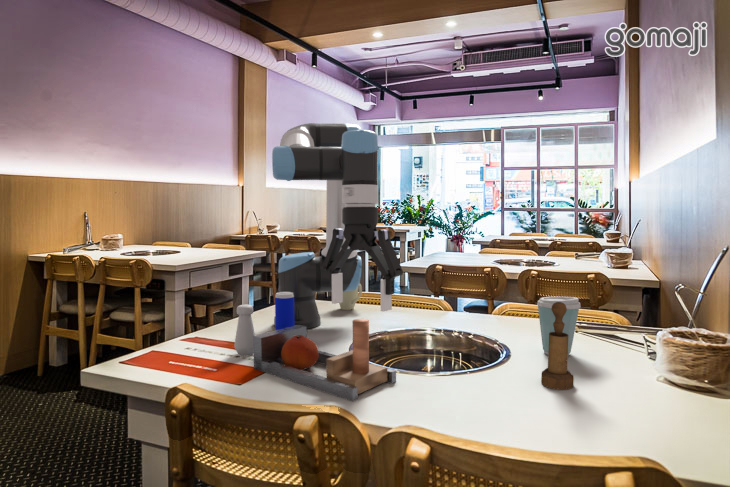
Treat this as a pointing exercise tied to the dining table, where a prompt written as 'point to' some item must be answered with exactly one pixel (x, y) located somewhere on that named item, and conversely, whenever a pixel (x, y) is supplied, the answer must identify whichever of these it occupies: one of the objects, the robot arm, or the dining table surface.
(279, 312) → the beverage can
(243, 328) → the salt shaker
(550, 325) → the disposable coffee cup
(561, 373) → the mortar and pestle
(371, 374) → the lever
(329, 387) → the press base
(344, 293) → the mug
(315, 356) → the fruit
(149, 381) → the dining table surface
